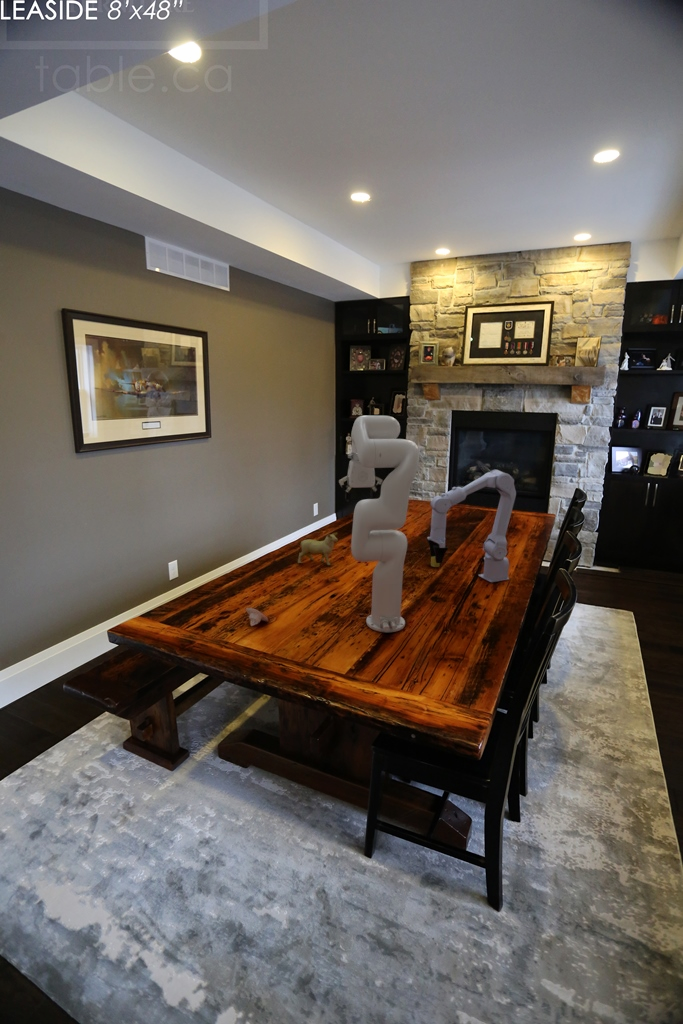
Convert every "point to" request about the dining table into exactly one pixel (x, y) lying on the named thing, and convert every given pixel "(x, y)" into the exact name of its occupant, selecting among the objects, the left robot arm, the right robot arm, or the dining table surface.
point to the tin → (434, 562)
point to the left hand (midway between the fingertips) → (360, 501)
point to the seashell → (255, 616)
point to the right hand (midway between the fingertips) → (436, 559)
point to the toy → (318, 548)
